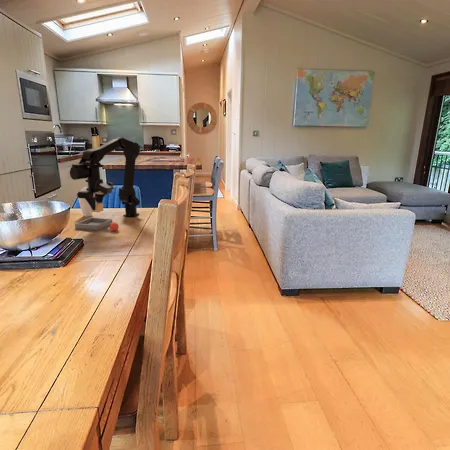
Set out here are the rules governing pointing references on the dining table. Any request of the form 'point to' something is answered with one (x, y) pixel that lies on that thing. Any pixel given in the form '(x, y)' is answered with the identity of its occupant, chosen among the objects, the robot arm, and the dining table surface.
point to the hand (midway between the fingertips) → (96, 209)
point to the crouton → (98, 207)
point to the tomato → (114, 226)
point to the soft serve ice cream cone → (85, 205)
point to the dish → (93, 224)
